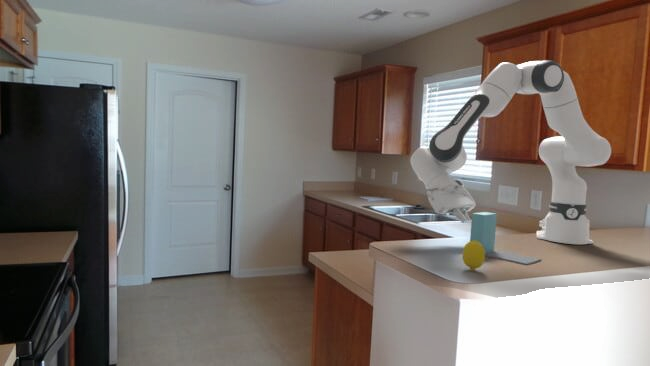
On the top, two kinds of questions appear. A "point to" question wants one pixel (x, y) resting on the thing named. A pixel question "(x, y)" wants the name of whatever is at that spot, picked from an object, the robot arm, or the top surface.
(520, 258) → the mat
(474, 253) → the lemon
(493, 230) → the teal block
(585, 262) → the top surface
